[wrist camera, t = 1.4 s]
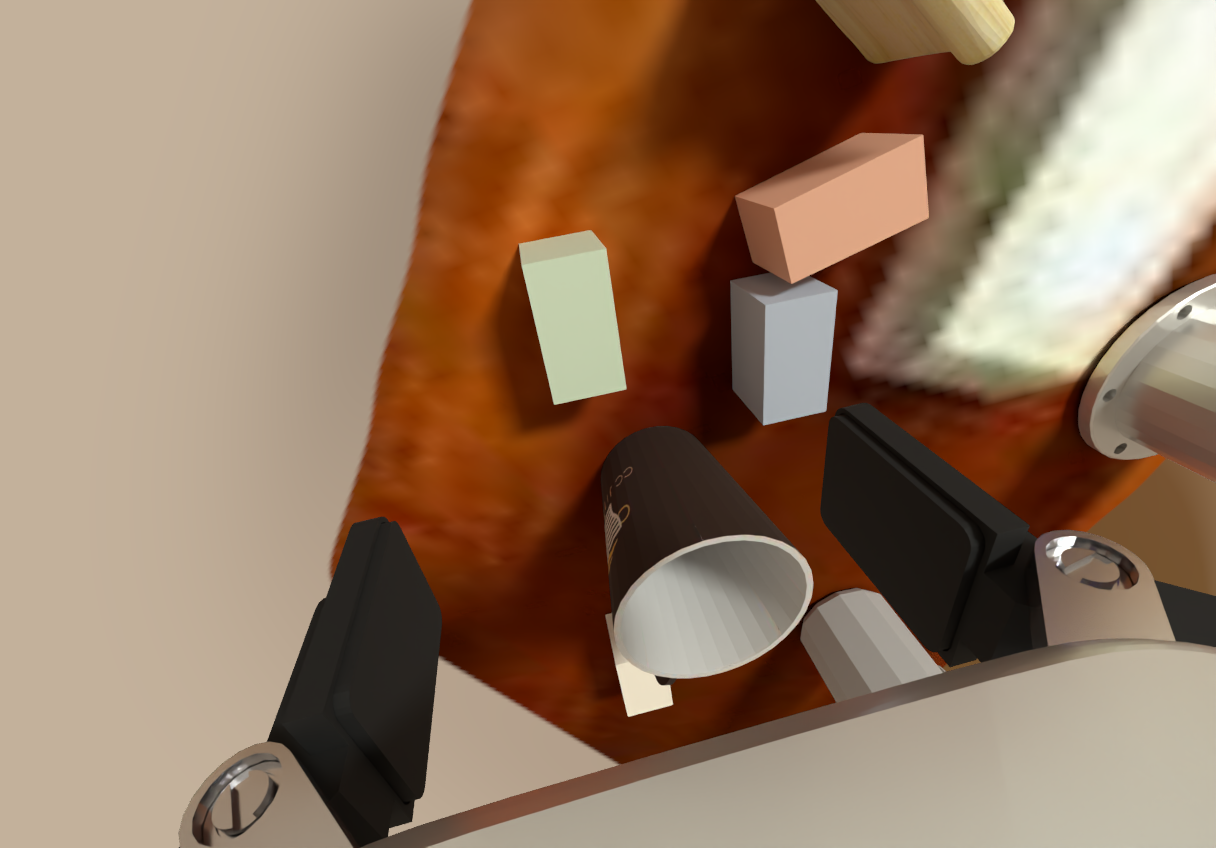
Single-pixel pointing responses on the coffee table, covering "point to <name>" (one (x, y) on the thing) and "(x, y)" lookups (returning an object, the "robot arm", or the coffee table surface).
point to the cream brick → (637, 683)
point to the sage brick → (574, 315)
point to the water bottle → (862, 645)
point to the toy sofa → (922, 27)
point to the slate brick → (781, 345)
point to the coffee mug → (693, 561)
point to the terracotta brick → (835, 204)
